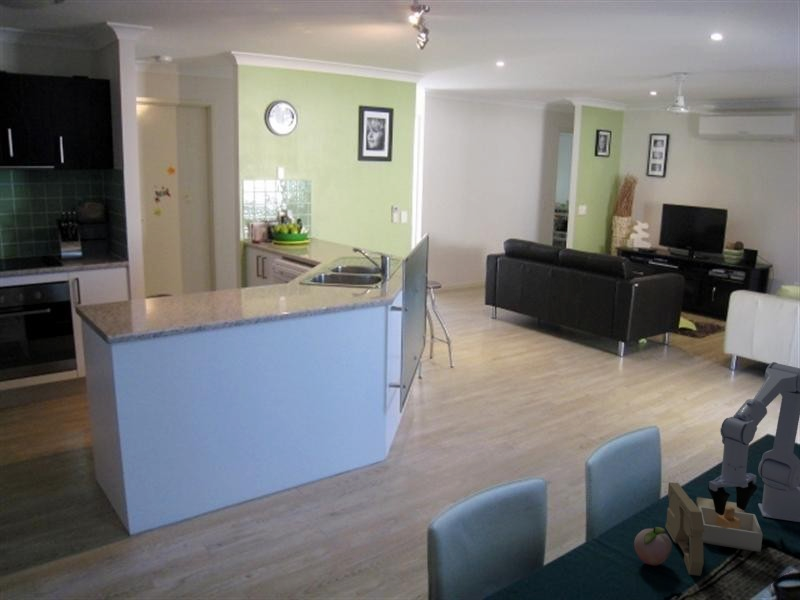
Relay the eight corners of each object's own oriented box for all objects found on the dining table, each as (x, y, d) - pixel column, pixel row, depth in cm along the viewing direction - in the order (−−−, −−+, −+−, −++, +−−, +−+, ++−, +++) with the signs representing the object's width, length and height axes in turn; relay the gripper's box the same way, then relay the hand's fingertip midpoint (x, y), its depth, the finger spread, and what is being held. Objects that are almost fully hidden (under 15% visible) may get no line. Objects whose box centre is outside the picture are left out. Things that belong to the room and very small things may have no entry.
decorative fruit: (640, 550, 169) (643, 514, 167) (673, 562, 164) (676, 525, 162) (627, 566, 162) (629, 529, 160) (661, 579, 156) (664, 540, 155)
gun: (704, 579, 157) (707, 518, 155) (689, 578, 157) (693, 517, 156) (676, 535, 181) (679, 482, 179) (664, 534, 181) (667, 481, 180)
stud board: (740, 508, 192) (742, 492, 191) (748, 528, 180) (749, 511, 180) (696, 501, 196) (697, 486, 195) (700, 520, 184) (701, 504, 183)
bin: (753, 531, 179) (754, 514, 178) (760, 552, 168) (762, 534, 168) (697, 522, 183) (698, 506, 182) (701, 542, 173) (702, 524, 172)
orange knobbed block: (726, 529, 178) (729, 503, 177) (739, 536, 175) (741, 510, 174) (715, 532, 177) (718, 506, 176) (727, 539, 173) (730, 513, 172)
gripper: (726, 473, 166) (721, 523, 168) (768, 464, 171) (763, 513, 174) (704, 462, 173) (700, 510, 175) (745, 454, 178) (740, 501, 180)
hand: (730, 511), depth 175 cm, fingers open, 7 cm apart
